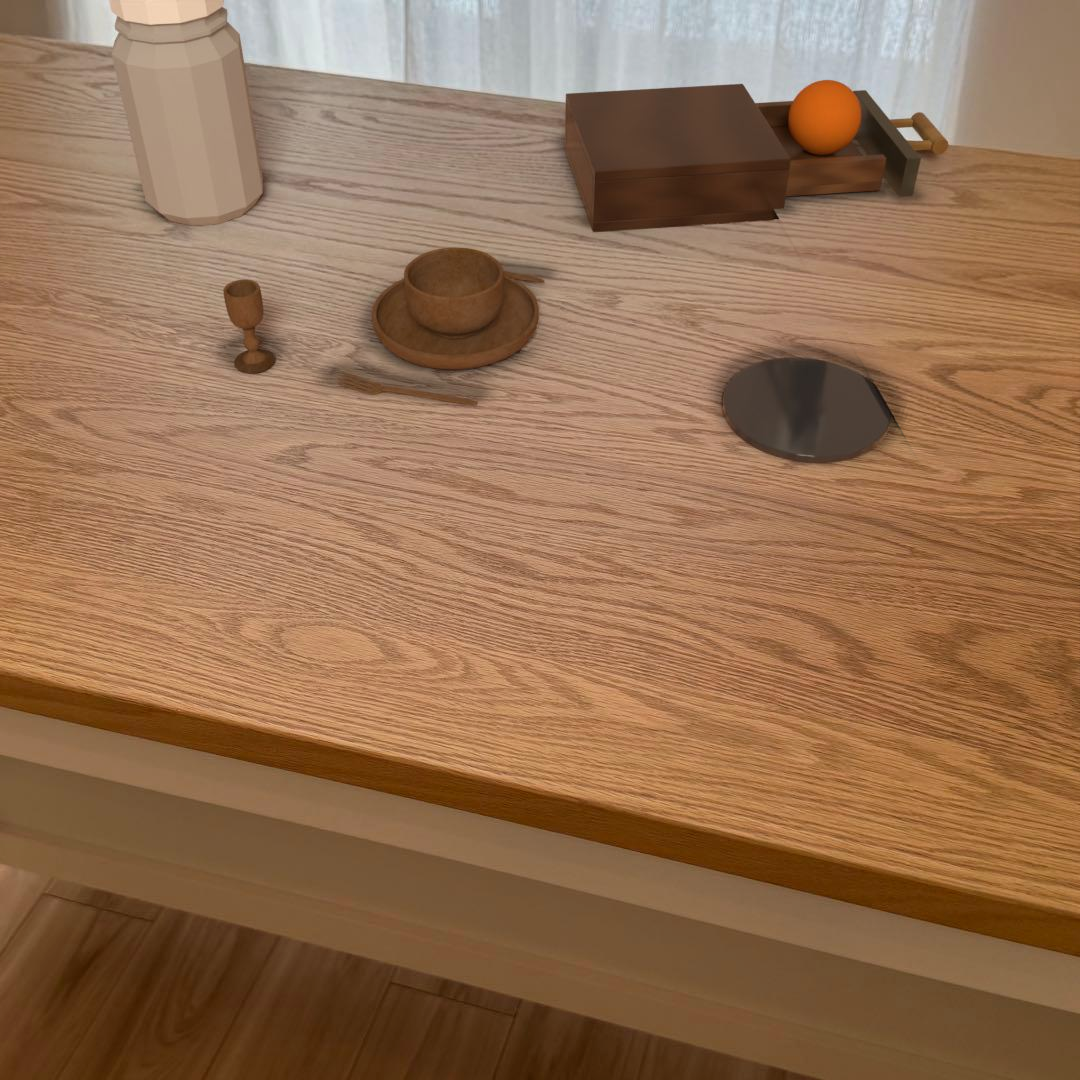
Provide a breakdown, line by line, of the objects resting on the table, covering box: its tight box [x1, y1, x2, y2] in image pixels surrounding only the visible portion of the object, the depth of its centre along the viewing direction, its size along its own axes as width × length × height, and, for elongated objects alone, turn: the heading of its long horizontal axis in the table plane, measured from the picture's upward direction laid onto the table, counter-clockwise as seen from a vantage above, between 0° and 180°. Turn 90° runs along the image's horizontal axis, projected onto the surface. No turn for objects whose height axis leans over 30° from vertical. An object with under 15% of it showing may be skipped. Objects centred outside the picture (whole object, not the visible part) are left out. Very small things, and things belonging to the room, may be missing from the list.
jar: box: [108, 0, 264, 227], centre depth 98 cm, size 10×10×18 cm
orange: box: [788, 79, 861, 155], centre depth 104 cm, size 6×6×6 cm
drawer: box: [755, 89, 949, 198], centre depth 106 cm, size 19×14×3 cm
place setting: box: [222, 247, 545, 406], centre depth 88 cm, size 18×20×6 cm
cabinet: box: [564, 83, 791, 233], centre depth 105 cm, size 16×15×5 cm
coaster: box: [722, 356, 892, 464], centre depth 83 cm, size 11×11×1 cm
